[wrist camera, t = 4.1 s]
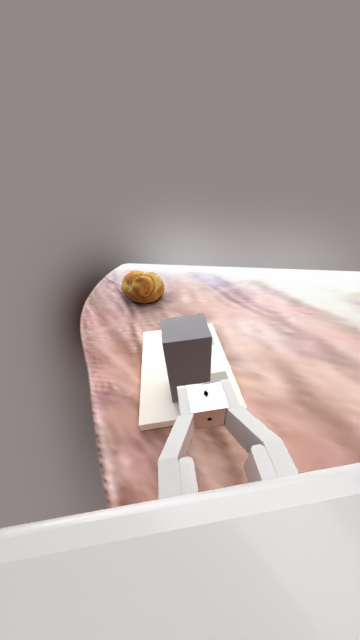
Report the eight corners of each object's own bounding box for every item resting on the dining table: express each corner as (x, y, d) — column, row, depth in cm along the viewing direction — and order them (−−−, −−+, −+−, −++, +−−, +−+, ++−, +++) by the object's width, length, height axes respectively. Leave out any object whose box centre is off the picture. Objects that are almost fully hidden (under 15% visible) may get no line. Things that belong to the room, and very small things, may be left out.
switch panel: (144, 337, 39) (143, 331, 38) (211, 328, 40) (211, 322, 39) (141, 430, 24) (138, 425, 24) (245, 413, 25) (247, 407, 24)
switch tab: (170, 377, 28) (160, 319, 22) (203, 372, 29) (203, 313, 22) (172, 402, 25) (162, 343, 18) (209, 397, 25) (212, 336, 19)
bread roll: (115, 296, 54) (107, 270, 49) (141, 283, 59) (136, 258, 54) (145, 311, 47) (139, 282, 42) (172, 295, 52) (168, 267, 47)
